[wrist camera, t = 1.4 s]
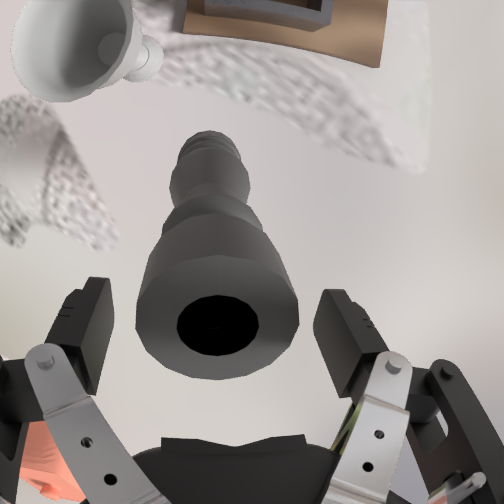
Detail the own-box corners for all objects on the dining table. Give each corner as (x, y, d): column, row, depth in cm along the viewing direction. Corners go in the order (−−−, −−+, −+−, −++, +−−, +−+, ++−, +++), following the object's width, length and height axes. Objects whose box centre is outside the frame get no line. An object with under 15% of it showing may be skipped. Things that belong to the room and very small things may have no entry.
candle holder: (166, 160, 32) (94, 327, 10) (209, 118, 30) (218, 204, 9) (208, 199, 35) (219, 401, 13) (251, 160, 33) (339, 320, 11)
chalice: (182, 76, 28) (154, 63, 12) (120, 103, 28) (35, 127, 13) (159, 15, 24) (111, -53, 9) (97, 43, 25) (-1, 16, 9)
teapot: (135, 461, 62) (133, 525, 46) (60, 456, 60) (50, 513, 45) (88, 404, 49) (72, 488, 34) (5, 400, 48) (-17, 467, 33)
